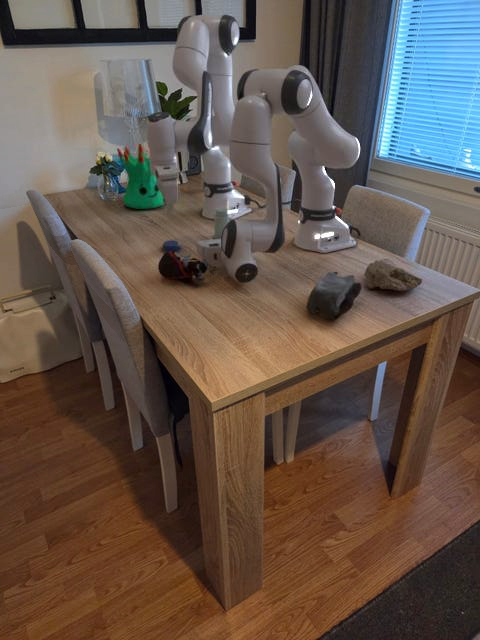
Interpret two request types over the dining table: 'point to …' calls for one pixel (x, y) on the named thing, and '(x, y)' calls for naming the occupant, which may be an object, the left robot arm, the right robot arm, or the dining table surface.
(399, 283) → the artifact
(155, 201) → the toy
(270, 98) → the right robot arm
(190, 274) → the toy
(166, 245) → the lid
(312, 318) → the dining table surface
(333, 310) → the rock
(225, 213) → the pale green cylinder
